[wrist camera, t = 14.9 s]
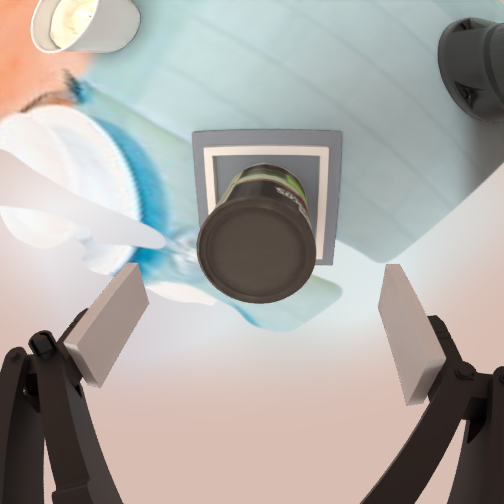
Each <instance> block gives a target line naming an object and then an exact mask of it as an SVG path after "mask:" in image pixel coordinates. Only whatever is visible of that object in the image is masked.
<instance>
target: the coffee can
mask: <svg viewBox="0 0 504 504" xmlns="http://www.w3.org/2000/svg"><path fill="white" fill-rule="evenodd" d="M197 257H198V261H199V264H200V267H201V269H202V271H203V273H204V274H205V276H206V277H207V279H208V280H209V281H210V283H212V285H213V286H214V287H216V288H217V289H218V290H219V291H221V292H222V293H224V294H225V295H227V296H229V297H231V298H234V299H236V300H239V301H243V302H248V303H257V304H264V303H271V302H276V301H279V300H282V299H284V298H287V297H289V296H290V295H292V294H294V293H295V292H297V291H298V290H299V289H300V288H301V287H302V286H303V285H304V284H305V283H306V282H307V280H308V279H309V277H310V275H311V274H312V271H313V268H314V266H315V262H316V243H315V239H314V236H313V233H312V229H311V223H310V218H309V213H308V207H307V198H306V193H305V190H304V187H303V185H302V183H301V181H300V180H299V179H298V177H297V176H296V175H295V174H294V173H292V172H291V171H290V170H288V169H287V168H285V167H283V166H280V165H277V164H273V163H258V164H254V165H251V166H248V167H246V168H244V169H243V170H241V171H240V172H239V173H238V174H237V175H236V176H235V177H234V178H233V179H232V181H231V183H230V185H229V187H228V188H227V190H226V191H225V193H224V194H223V196H222V197H221V199H220V201H219V202H218V204H217V205H216V207H215V208H214V210H213V211H212V212H211V213H210V215H209V216H208V217H207V218H206V220H205V221H204V223H203V225H202V227H201V229H200V231H199V234H198V239H197Z"/></svg>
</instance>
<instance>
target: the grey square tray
mask: <svg viewBox="0 0 504 504" xmlns="http://www.w3.org/2000/svg"><path fill="white" fill-rule="evenodd" d="M192 143H193V157H194V169H195V181H196V193H197V204H198V214H199V224H200V229H201V227H202V225H203V223H204V221H205V220H206V218H207V217H208V216H209V215H210V213H211V212H212V211H213V210H214V208H215V207H216V205H217V204H218V202H219V201H220V199H221V197H222V196H223V194H224V193H225V191H226V190H227V188H228V187H229V185H230V183H231V181H232V179H233V178H234V177H235V176H236V175H237V174H238V173H239V172H240V171H241V170H243V169H244V168H246V167H248V166H251V165H254V164H258V163H273V164H277V165H280V166H283V167H285V168H287V169H288V170H290V171H291V172H292V173H294V174H295V175H296V176H297V177H298V179H299V180H300V181H301V183H302V185H303V187H304V190H305V193H306V198H307V207H308V213H309V218H310V223H311V229H312V233H313V236H314V239H315V243H316V262H315V265H333V256H334V247H335V237H336V226H337V214H338V201H339V187H340V170H341V148H342V132H340V131H327V130H302V129H240V130H215V131H198V132H193V133H192Z"/></svg>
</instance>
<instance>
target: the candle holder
mask: <svg viewBox="0 0 504 504" xmlns="http://www.w3.org/2000/svg"><path fill="white" fill-rule="evenodd" d="M139 24H140V13H139V10H138V8H137V7H136V5H135V4H134V3H132V2H131V1H130V0H40V1H39V3H38V5H37V7H36V9H35V12H34V14H33V18H32V22H31V36H32V40H33V43H34V44H35V46H36V47H37V48H38V49H39V50H40V51H42V52H44V53H50V54H52V53H66V52H84V53H110V52H114V51H117V50H119V49H121V48H123V47H124V46H126V45H127V44H128V43H129V42H130V41H131V40H132V39H133V37H134V36H135V34H136V32H137V30H138V28H139Z"/></svg>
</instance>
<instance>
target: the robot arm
mask: <svg viewBox="0 0 504 504" xmlns="http://www.w3.org/2000/svg"><path fill="white" fill-rule="evenodd" d="M438 61H439V68H440V72H441V75H442V78H443V81H444V83H445V86H446V88H447V90H448V91H449V93H450V95H451V96H452V98H453V99H454V101H455V102H456V103H457V104H458V105H459V106H460V107H461V108H462V109H463V110H464V111H465V112H466V113H468V114H469V115H471V116H472V117H474V118H477V119H479V120H483V121H487V122H493V123H500V122H504V23H502V24H498V23H495V22H491V21H487V20H483V19H479V18H465V19H462V20H459V21H456V22H454V23H452V24H450V25H449V26H448V27H447V28H446V29H445V30H444V32H443V34H442V36H441V38H440V42H439V47H438ZM148 304H149V301H148V298H147V294H146V291H145V287H144V283H143V280H142V276H141V272H140V268H139V265H138V263H126V264H125V265H124V266H123V268H122V269H121V270H120V271H119V272H118V273H117V275H116V276H115V277H114V278H113V280H112V281H111V282H110V283H109V284H108V286H107V287H106V288H105V289H104V290H103V292H102V293H101V294H100V295H99V297H98V298H97V299H96V300H95V302H94V303H93V304H92V305H91V307H90V308H86V309H85V310H83V311H82V312H80V313H79V314H78V315H77V317H76V318H75V319H74V321H73V322H72V323H71V324H70V325H69V327H68V328H67V330H66V331H65V332H64V333H63V335H62V336H61V337H60V338H59V340H58V341H57V342H56V341H55V339H54V337H53V335H52V333H51V332H50V331H46V330H43V331H39V332H38V333H35V334H34V335H33V336H32V337H31V338H30V340H29V343H28V345H29V347H30V348H31V350H32V352H33V353H34V354H30V355H28V354H27V353H26V351H25V350H24V348H22V347H16V348H13V349H11V350H10V351H9V352H8V353H7V354H6V356H5V359H4V362H3V365H2V369H1V372H0V504H44V487H43V485H44V484H43V465H44V439H45V440H46V446H47V450H48V455H49V460H50V464H51V469H52V473H53V477H54V481H55V484H56V491H54V492H52V501H53V504H123V502H122V500H121V498H120V495H119V493H118V491H117V489H116V486H115V484H114V482H113V479H112V477H111V474H110V472H109V470H108V467H107V464H106V462H105V459H104V456H103V453H102V451H101V448H100V445H99V442H98V439H97V436H96V433H95V430H94V427H93V424H92V420H91V417H90V414H89V410H88V407H87V403H86V399H85V395H84V392H83V388H82V386H81V384H80V381H81V379H82V377H83V378H84V380H85V381H86V383H87V384H88V385H90V386H94V387H98V388H101V386H102V385H103V383H104V381H105V379H106V377H107V375H108V374H109V372H110V370H111V368H112V366H113V365H114V363H115V361H116V359H117V357H118V356H119V354H120V352H121V350H122V349H123V347H124V345H125V343H126V342H127V340H128V338H129V337H130V335H131V333H132V331H133V330H134V328H135V326H136V325H137V323H138V321H139V319H140V318H141V316H142V314H143V313H144V311H145V309H146V308H147V306H148ZM378 309H379V312H380V315H381V318H382V322H383V325H384V328H385V331H386V334H387V337H388V341H389V344H390V347H391V350H392V354H393V357H394V361H395V364H396V368H397V371H398V375H399V378H400V383H401V386H402V390H403V394H404V398H405V402H406V405H407V406H408V405H415V404H422V403H423V402H424V400H425V399H426V397H427V395H428V398H429V401H430V403H429V405H428V407H427V408H426V410H425V412H424V413H423V415H422V417H421V419H420V421H419V422H418V424H417V426H416V427H415V429H414V431H413V432H412V434H411V435H410V437H409V438H408V440H407V441H406V443H405V444H404V446H403V448H402V449H401V450H400V452H399V453H398V455H397V456H396V458H395V459H394V460H393V462H392V463H391V465H390V466H389V467H388V469H387V470H386V471H385V473H384V474H383V475H382V477H381V478H380V479H379V481H378V482H377V483H376V485H375V486H374V487H373V488H372V489H371V491H370V492H369V493H368V494H367V496H366V497H365V498H364V499H363V500H362V501H361V503H360V504H414V503H415V502H416V501H417V499H418V498H419V496H420V494H421V493H422V491H423V490H424V488H425V487H426V485H427V483H428V482H429V480H430V478H431V477H432V475H433V473H434V472H435V470H436V468H437V466H438V465H439V463H440V461H441V459H442V457H443V455H444V454H445V452H446V449H447V448H448V446H449V443H450V442H451V440H452V438H453V436H454V434H455V432H456V429H457V427H458V425H459V423H460V421H461V419H463V420H466V426H465V432H464V437H463V443H462V448H461V453H460V457H459V462H458V466H457V470H456V474H455V478H454V482H453V486H452V489H451V492H450V496H449V499H448V502H447V504H504V366H501V367H499V368H497V369H496V370H495V371H494V373H493V374H483V373H478V372H476V369H475V368H474V367H473V366H472V365H471V364H469V363H468V362H464V361H463V360H462V358H461V356H460V354H459V352H458V350H457V347H456V345H455V343H454V341H453V339H451V335H450V333H449V332H448V329H447V327H446V325H445V324H444V322H443V321H442V320H441V319H440V318H439V317H438V316H437V315H434V316H426V313H425V311H424V310H423V307H422V305H421V303H420V301H419V300H418V297H417V295H416V294H415V292H414V290H413V288H412V286H411V284H410V282H409V280H408V278H407V277H406V275H405V273H404V271H403V269H402V267H401V266H400V264H386V268H385V273H384V280H383V284H382V290H381V295H380V300H379V305H378ZM24 390H25V391H24Z"/></svg>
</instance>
